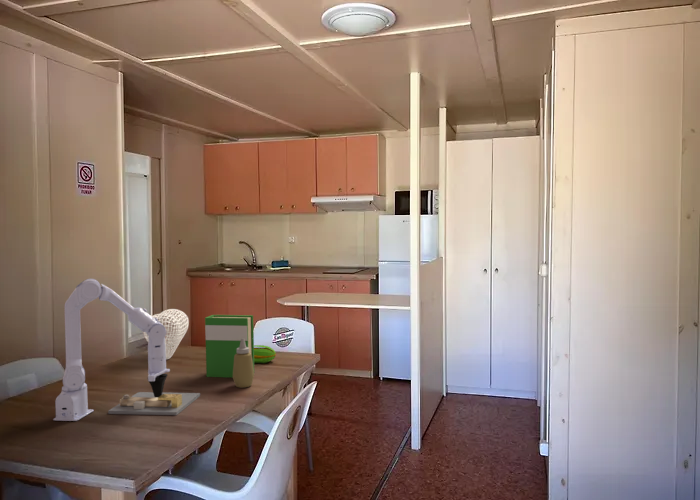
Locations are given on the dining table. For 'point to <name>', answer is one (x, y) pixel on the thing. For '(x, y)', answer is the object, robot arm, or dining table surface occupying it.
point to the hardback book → (226, 342)
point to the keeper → (172, 399)
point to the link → (148, 400)
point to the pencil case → (263, 354)
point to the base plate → (151, 410)
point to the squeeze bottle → (243, 366)
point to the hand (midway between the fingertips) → (158, 396)
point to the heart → (179, 324)
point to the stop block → (139, 404)
